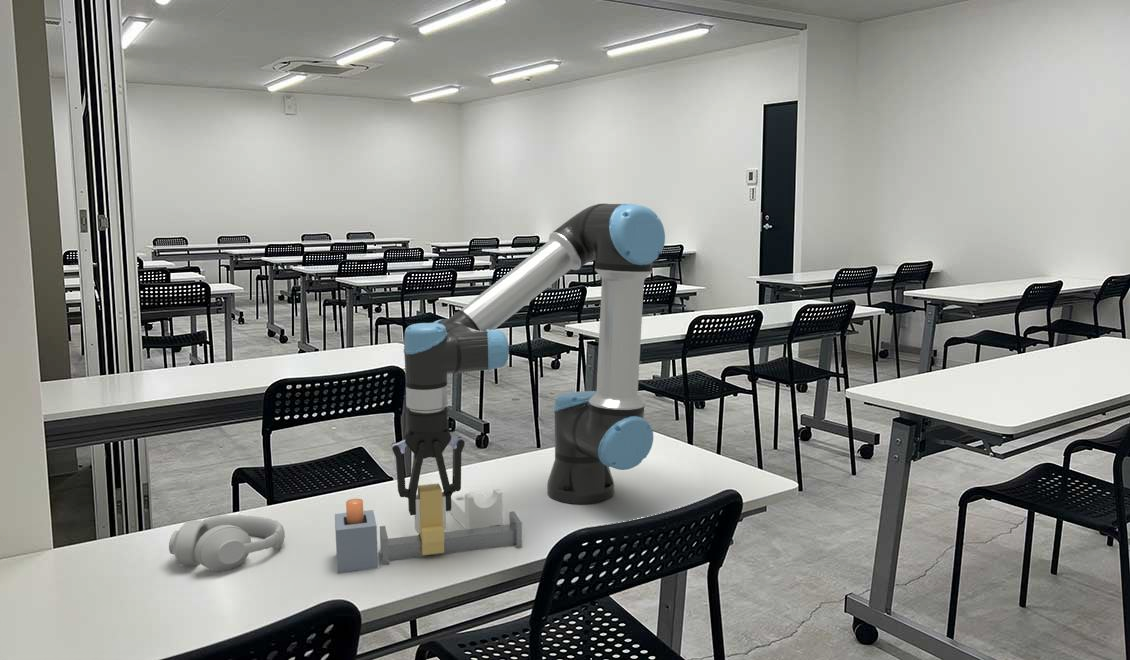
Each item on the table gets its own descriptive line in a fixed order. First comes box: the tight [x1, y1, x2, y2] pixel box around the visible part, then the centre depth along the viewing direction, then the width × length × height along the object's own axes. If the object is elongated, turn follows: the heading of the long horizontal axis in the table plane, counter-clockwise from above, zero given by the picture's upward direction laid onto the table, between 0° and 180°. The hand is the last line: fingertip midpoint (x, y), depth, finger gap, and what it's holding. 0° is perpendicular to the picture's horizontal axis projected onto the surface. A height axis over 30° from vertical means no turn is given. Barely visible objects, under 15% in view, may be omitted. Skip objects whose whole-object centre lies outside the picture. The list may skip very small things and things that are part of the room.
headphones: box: [168, 514, 286, 572], centre depth 157 cm, size 18×8×20 cm
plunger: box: [345, 498, 364, 525], centre depth 152 cm, size 3×3×5 cm
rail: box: [379, 510, 523, 566], centre depth 158 cm, size 26×6×5 cm, turn 107°
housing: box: [334, 509, 379, 574], centre depth 153 cm, size 7×8×8 cm
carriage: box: [417, 483, 445, 555], centre depth 157 cm, size 4×7×12 cm, turn 17°
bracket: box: [448, 488, 504, 530], centre depth 173 cm, size 13×7×8 cm, turn 26°
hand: (430, 528), depth 157 cm, fingers closed on carriage, 4 cm apart
